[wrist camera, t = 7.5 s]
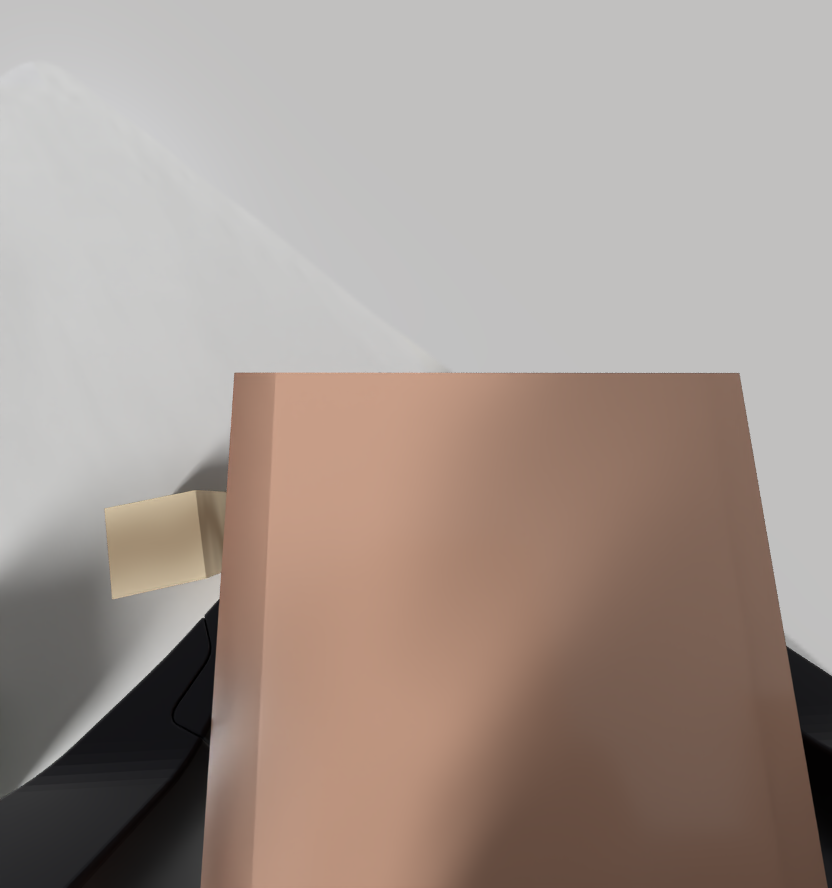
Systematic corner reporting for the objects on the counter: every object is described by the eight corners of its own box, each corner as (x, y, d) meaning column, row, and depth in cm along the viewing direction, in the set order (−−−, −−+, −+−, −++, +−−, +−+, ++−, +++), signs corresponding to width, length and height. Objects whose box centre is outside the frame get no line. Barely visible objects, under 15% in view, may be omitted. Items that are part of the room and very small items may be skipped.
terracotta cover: (504, 617, 16) (842, 975, 4) (350, 623, 15) (190, 1038, 3) (496, 465, 17) (738, 373, 5) (352, 467, 16) (234, 373, 4)
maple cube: (243, 563, 20) (206, 578, 16) (169, 579, 20) (112, 599, 16) (233, 491, 21) (195, 489, 17) (161, 506, 20) (104, 508, 16)
